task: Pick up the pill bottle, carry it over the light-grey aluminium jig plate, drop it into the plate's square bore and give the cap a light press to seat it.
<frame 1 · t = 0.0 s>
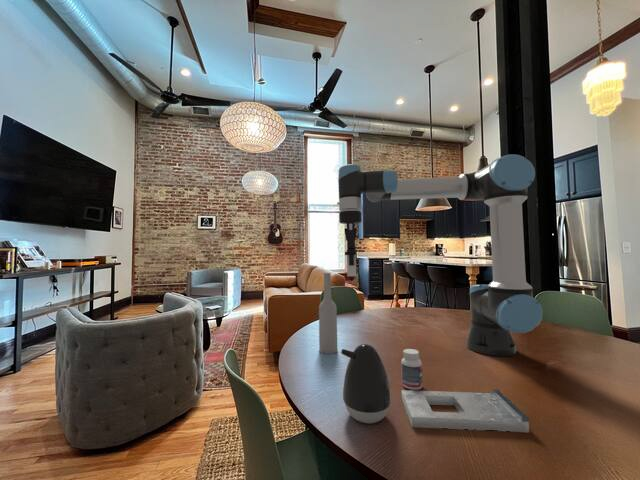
hand: (351, 274, 93), 28 cm above the table, fingers open, 13 cm apart
jig: (458, 413, 60), on the table
pump dispenser: (366, 417, 60), on the table
pill bottle: (412, 386, 73), on the table
bottle: (328, 351, 101), on the table
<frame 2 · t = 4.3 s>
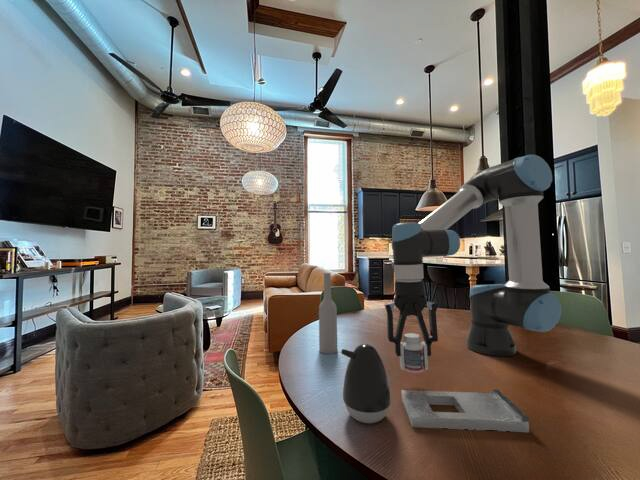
hand: (413, 367, 74), 4 cm above the table, fingers closed on pill bottle, 5 cm apart
pill bottle: (413, 369, 74), point 4 cm above the table, touching gripper
everything else where it was.
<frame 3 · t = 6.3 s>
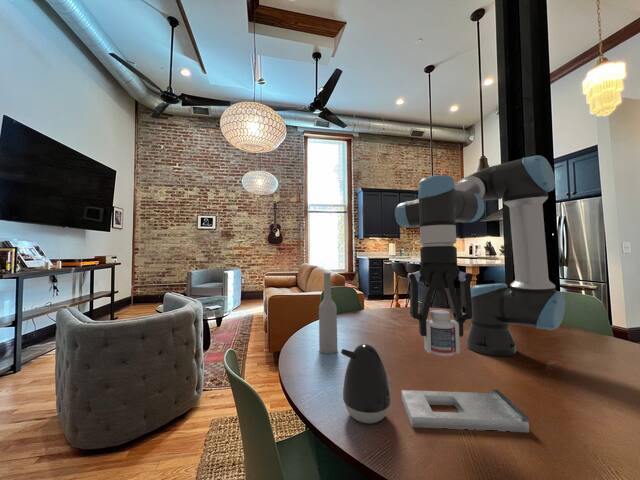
hand: (441, 350, 61), 13 cm above the table, fingers closed on pill bottle, 5 cm apart
pill bottle: (441, 353, 61), point 13 cm above the table, touching gripper
everything else where it was.
when the fingers open (3 cm above the table, at t = 8.3 s): pill bottle drops 2 cm, resting in jig.
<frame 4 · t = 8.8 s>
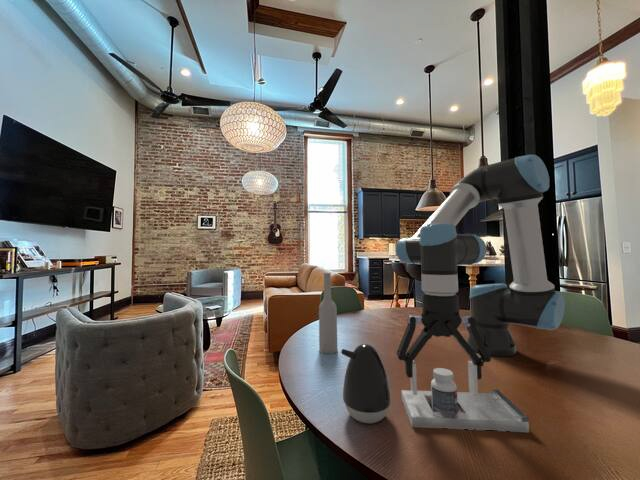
hand: (443, 392, 61), 4 cm above the table, fingers open, 12 cm apart
pill bottle: (444, 414, 60), resting in jig
everything else where it was.
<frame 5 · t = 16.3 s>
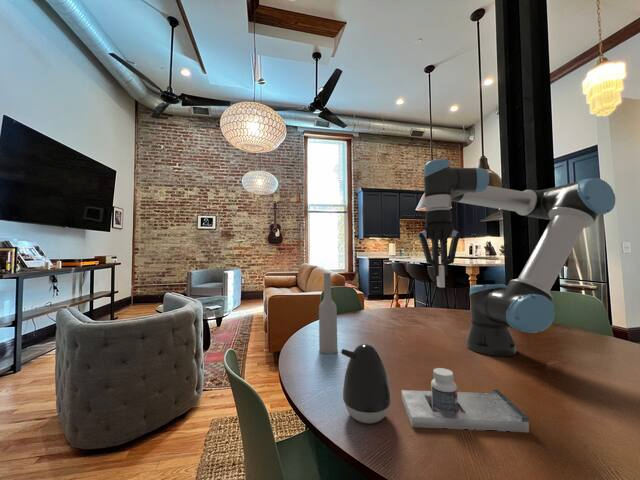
hand: (440, 286, 85), 24 cm above the table, fingers closed
nothing on the table moved.
at the end: pill bottle 0.2 cm from the target spot on the jig, point 0.0 cm above the jig's base; pill bottle tilted 0°; the gripper is holding nothing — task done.
